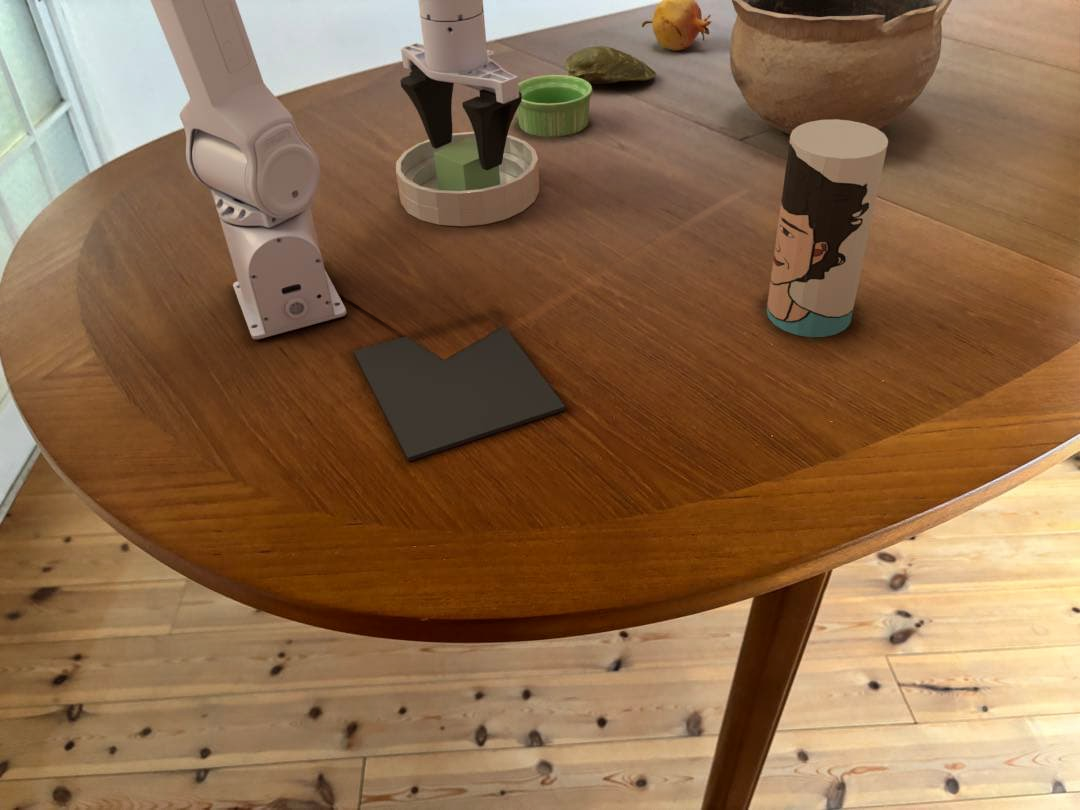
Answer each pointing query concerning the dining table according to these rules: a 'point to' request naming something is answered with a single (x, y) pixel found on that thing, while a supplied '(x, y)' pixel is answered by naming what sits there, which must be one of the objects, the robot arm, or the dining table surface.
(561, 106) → the ramekin
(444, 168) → the green block
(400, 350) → the mat
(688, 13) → the fruit
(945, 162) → the dining table surface
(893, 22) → the ceramic bowl
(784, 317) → the cup
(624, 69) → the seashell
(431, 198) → the basin
